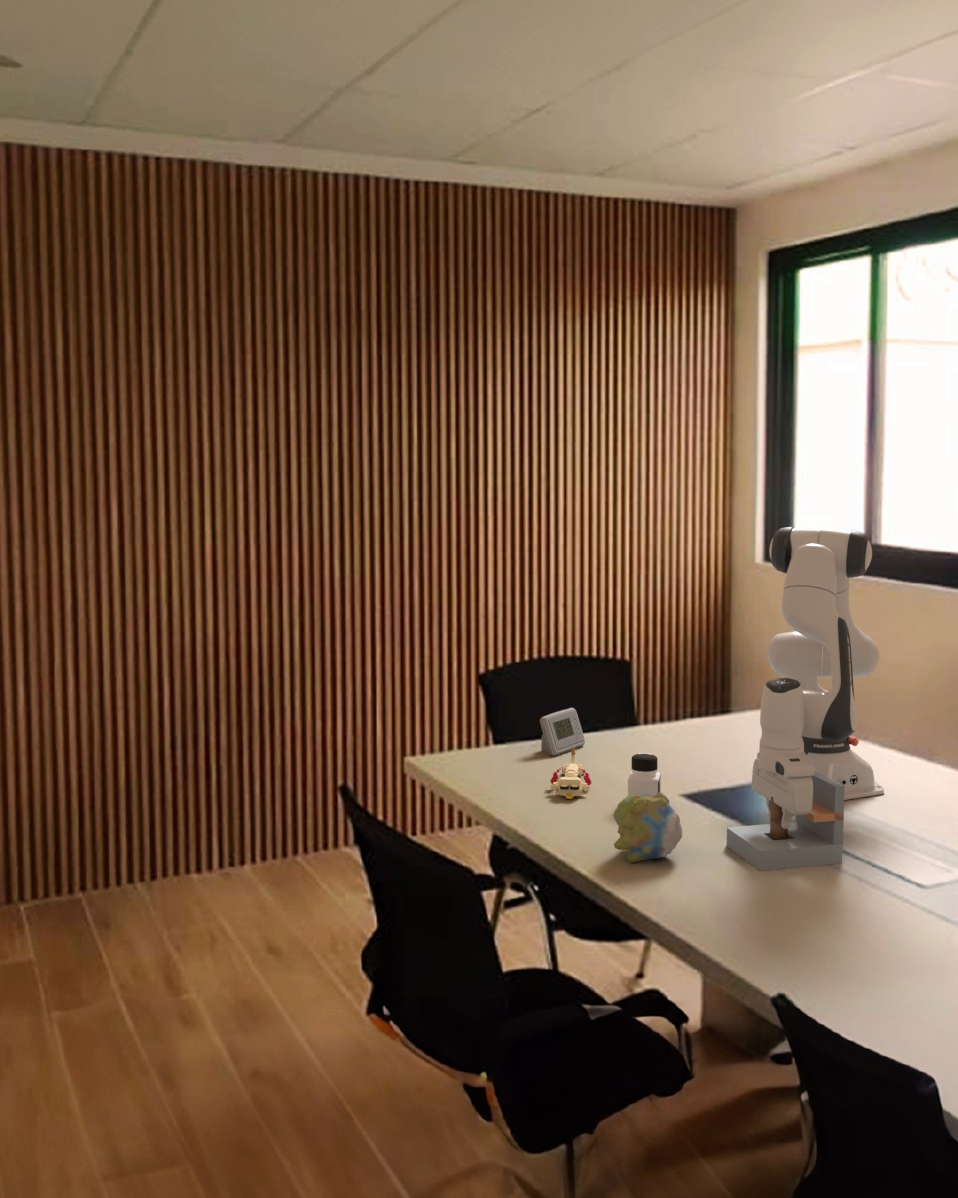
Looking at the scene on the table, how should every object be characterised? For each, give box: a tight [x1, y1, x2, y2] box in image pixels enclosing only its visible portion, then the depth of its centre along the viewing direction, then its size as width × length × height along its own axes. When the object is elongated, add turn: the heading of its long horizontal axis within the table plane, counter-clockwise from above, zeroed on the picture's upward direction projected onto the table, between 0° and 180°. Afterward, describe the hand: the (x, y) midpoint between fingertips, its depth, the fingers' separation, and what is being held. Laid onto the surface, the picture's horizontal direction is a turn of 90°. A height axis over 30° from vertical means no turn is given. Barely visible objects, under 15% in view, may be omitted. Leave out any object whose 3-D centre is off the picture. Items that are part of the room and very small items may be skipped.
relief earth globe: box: [613, 792, 683, 864], centre depth 263 cm, size 14×16×15 cm
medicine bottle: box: [627, 752, 662, 796], centre depth 300 cm, size 7×7×12 cm
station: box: [726, 771, 845, 871], centre depth 264 cm, size 18×16×16 cm
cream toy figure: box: [549, 747, 592, 800], centre depth 316 cm, size 10×9×25 cm
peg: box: [769, 797, 788, 840], centre depth 263 cm, size 4×4×10 cm
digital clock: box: [539, 707, 586, 757], centre depth 353 cm, size 16×9×11 cm, turn 131°
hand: (779, 824), depth 264 cm, fingers closed on peg, 4 cm apart
